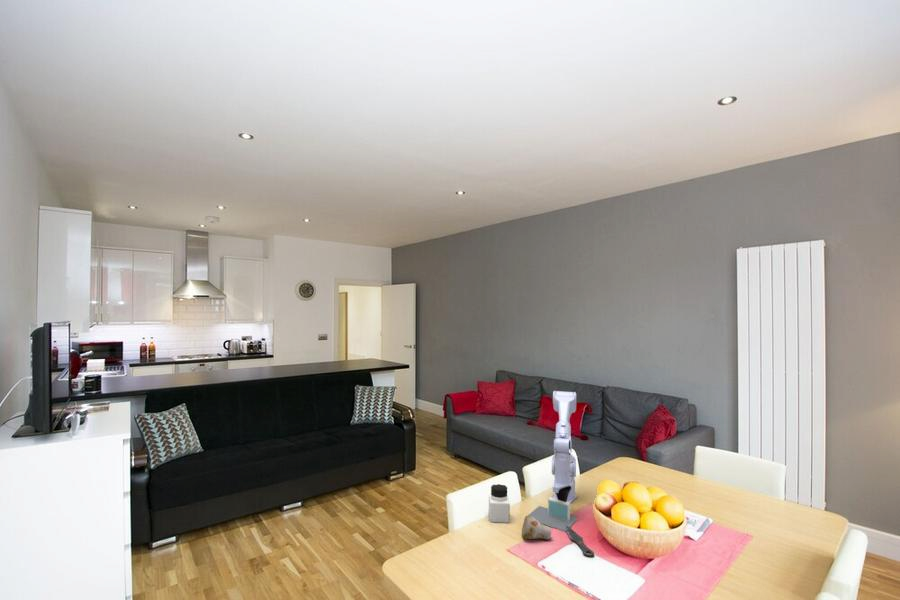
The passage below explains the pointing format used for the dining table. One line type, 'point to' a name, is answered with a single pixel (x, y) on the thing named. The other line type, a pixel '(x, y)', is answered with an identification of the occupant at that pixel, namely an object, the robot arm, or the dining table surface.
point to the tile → (559, 509)
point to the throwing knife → (579, 541)
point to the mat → (551, 519)
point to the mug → (535, 529)
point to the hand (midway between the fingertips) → (562, 505)
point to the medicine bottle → (499, 504)
